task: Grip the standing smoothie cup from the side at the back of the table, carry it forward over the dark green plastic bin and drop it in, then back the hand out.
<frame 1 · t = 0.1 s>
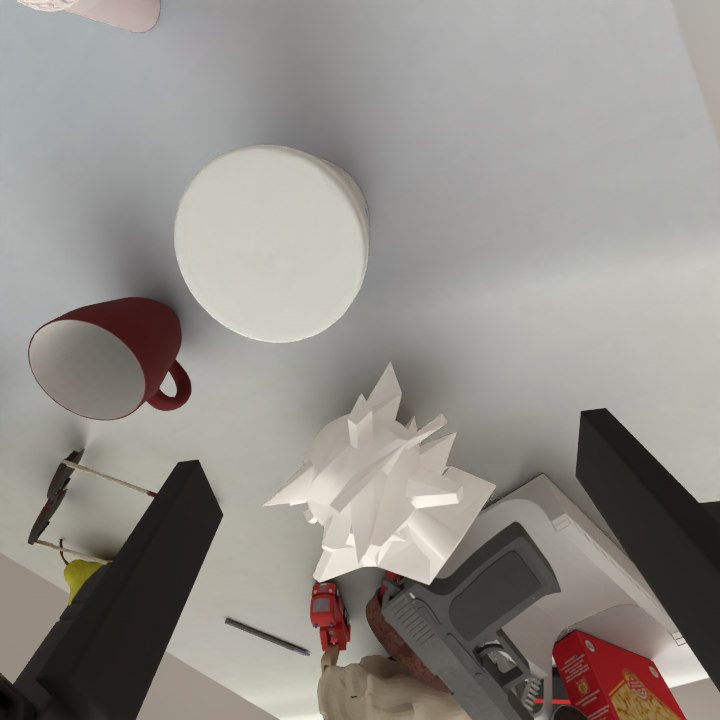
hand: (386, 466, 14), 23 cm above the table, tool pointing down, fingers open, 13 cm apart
figurine: (408, 667, 47), point 7 cm above the table, touching handgun, skate ramp
vase: (486, 697, 58), point 3 cm above the table, touching toy fire truck
supplement tub: (312, 221, 32), on the table
pen: (224, 620, 56), on the table
skate ramp: (521, 574, 50), on the table, touching figurine, handgun, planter
toy fire truck: (335, 609, 54), on the table, touching vase
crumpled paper: (383, 433, 41), on the table
mug: (170, 331, 37), on the table
food packaging: (601, 653, 57), on the table, touching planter
sunglasses: (140, 502, 46), on the table
game console: (533, 704, 60), point 2 cm above the table
fruit: (127, 609, 48), point 4 cm above the table
handgun: (587, 615, 37), point 10 cm above the table, touching figurine, skate ramp
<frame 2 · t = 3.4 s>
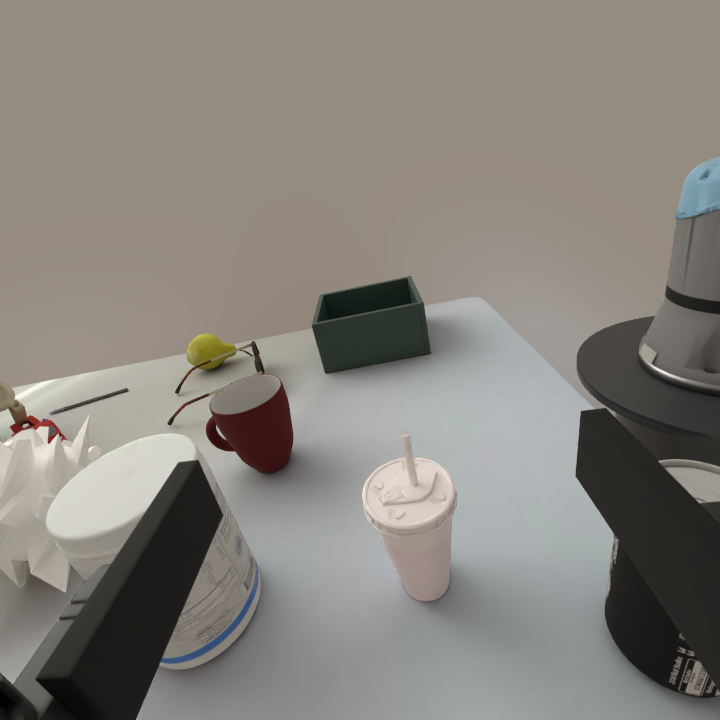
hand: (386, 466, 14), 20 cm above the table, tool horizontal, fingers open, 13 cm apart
supplement tub: (209, 609, 32), on the table
pen: (128, 388, 76), on the table
toy fire truck: (40, 443, 64), on the table, touching vase
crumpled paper: (51, 555, 41), on the table
mug: (264, 465, 47), on the table
beverage can: (666, 640, 24), on the table
smoothie: (426, 579, 31), on the table
bin: (375, 343, 71), on the table
sunglasses: (221, 393, 66), on the table
fruit: (185, 353, 74), point 4 cm above the table
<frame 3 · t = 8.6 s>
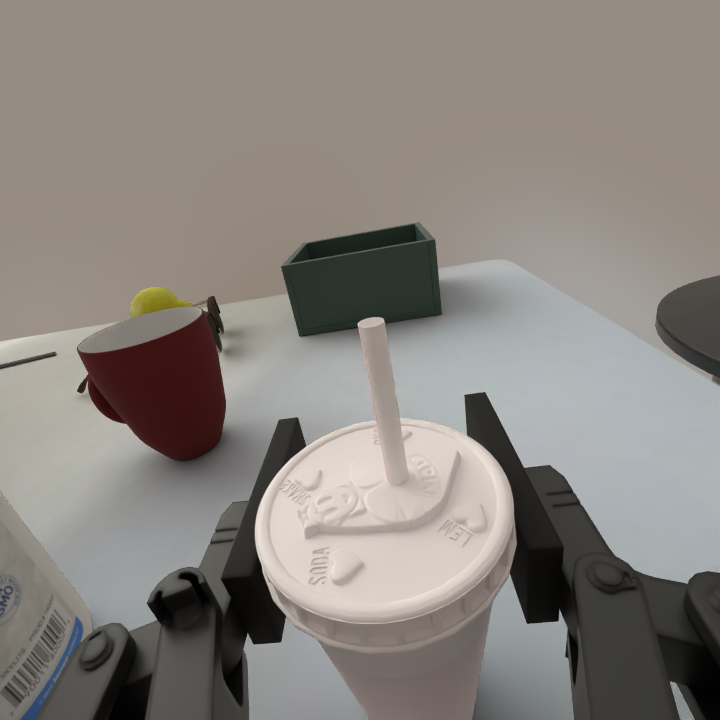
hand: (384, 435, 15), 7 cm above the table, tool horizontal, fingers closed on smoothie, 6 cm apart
pen: (57, 352, 60), on the table
mug: (181, 448, 31), on the table
smoothie: (420, 695, 14), on the table, touching gripper
bin: (369, 305, 54), on the table
sunglasses: (161, 358, 50), on the table
fruit: (129, 310, 58), point 4 cm above the table
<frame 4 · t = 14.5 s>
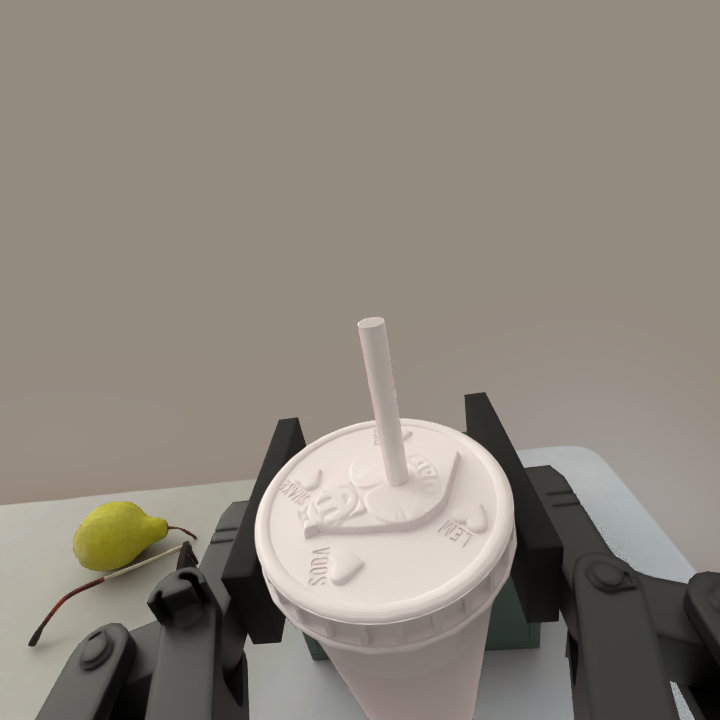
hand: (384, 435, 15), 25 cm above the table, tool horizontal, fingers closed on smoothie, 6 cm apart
smoothie: (420, 695, 14), point 17 cm above the table, touching gripper
bin: (414, 563, 37), on the table
sunglasses: (105, 674, 33), on the table
fruit: (73, 541, 42), point 4 cm above the table
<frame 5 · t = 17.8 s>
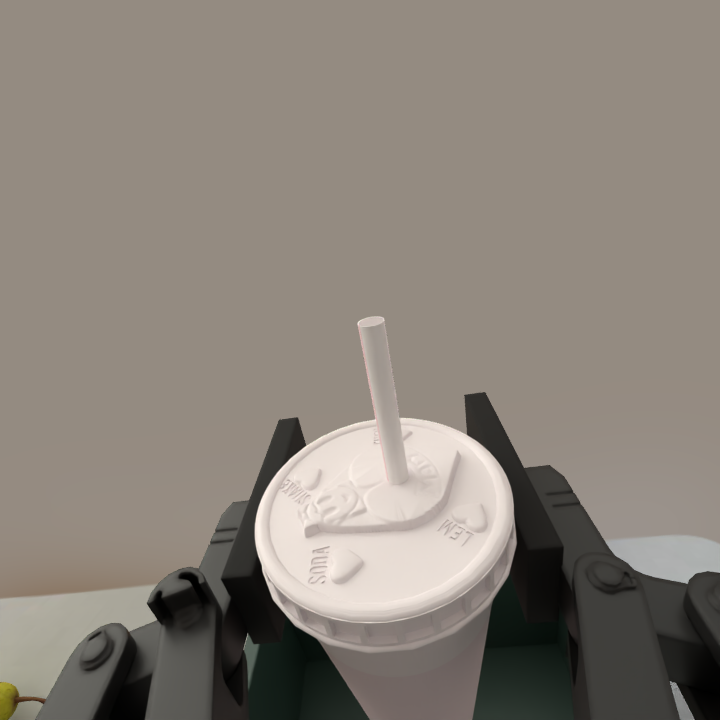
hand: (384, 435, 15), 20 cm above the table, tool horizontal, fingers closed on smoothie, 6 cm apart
smoothie: (420, 694, 14), point 12 cm above the table, touching gripper
when the fingers open (10 cm above the table, at t = 20.5 s): smoothie drops 2 cm, resting on bin.
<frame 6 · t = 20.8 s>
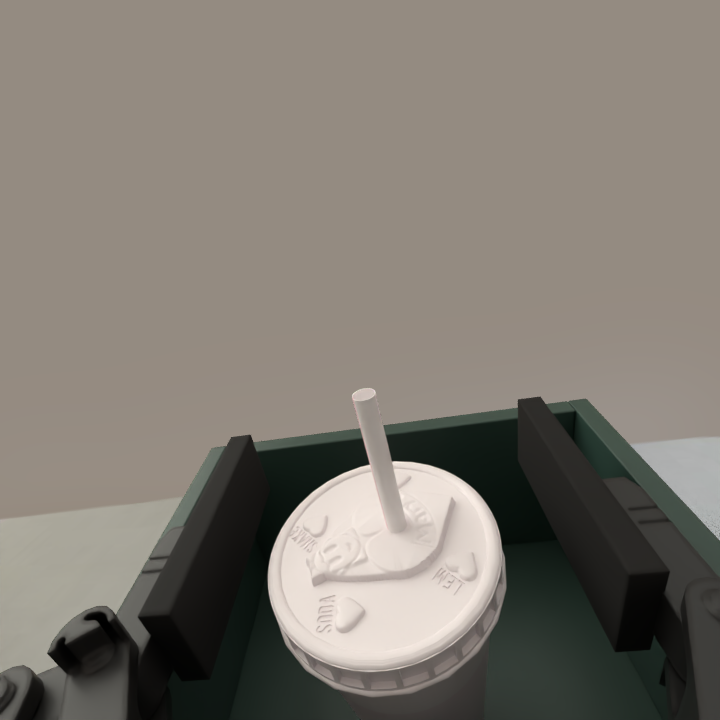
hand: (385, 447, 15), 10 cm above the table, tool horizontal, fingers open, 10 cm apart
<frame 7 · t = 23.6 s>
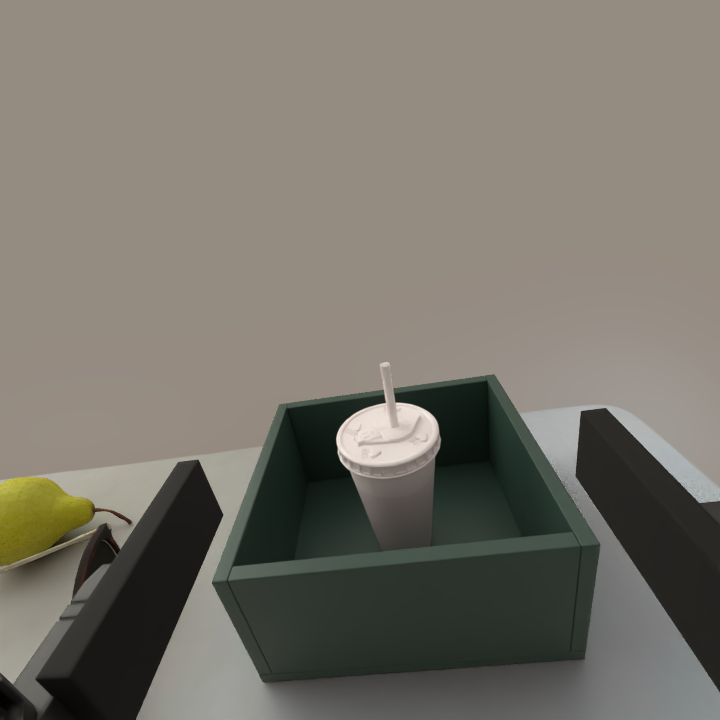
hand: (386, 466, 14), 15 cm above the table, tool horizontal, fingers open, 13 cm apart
smoothie: (405, 541, 28), point 1 cm above the table, touching bin
bin: (405, 547, 28), on the table
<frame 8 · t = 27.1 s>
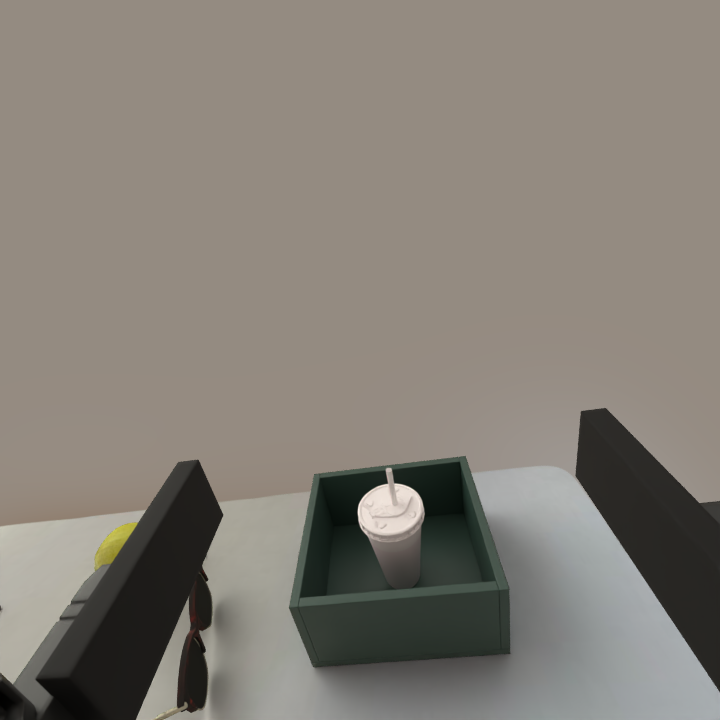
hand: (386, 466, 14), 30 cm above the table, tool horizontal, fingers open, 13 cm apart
smoothie: (402, 574, 41), point 1 cm above the table, touching bin
bin: (402, 578, 42), on the table
sunglasses: (127, 682, 37), on the table
fruit: (94, 560, 46), point 4 cm above the table
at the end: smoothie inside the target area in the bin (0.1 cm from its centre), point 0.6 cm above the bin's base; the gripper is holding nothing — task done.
